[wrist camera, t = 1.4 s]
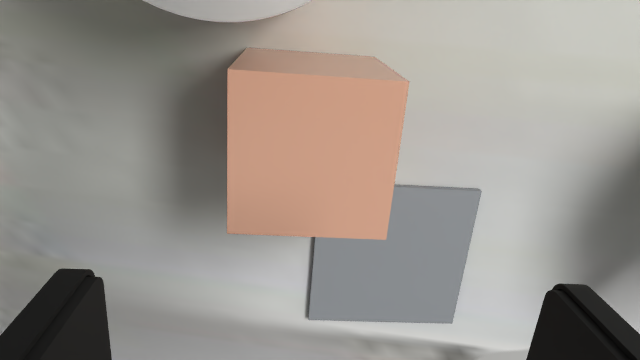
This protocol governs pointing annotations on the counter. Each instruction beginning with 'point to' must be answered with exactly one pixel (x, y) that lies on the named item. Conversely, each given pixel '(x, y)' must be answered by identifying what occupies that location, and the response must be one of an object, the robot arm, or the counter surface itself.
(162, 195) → the counter surface
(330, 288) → the mat
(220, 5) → the jar
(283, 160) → the salmon pink block
